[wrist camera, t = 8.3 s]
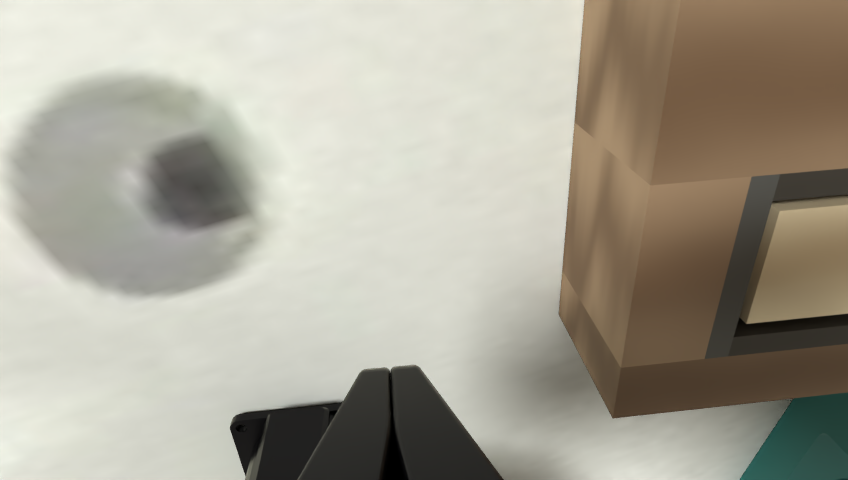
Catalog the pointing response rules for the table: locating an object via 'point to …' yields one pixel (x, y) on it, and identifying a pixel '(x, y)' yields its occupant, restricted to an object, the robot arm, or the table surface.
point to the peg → (800, 262)
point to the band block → (699, 196)
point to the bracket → (806, 442)
